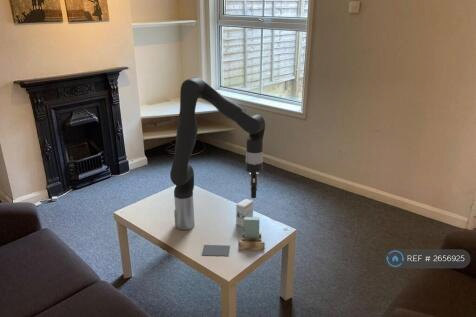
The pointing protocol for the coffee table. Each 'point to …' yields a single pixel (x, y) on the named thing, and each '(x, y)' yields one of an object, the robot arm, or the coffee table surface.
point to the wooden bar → (251, 245)
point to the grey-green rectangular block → (251, 227)
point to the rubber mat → (216, 250)
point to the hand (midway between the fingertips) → (253, 193)
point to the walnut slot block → (251, 239)
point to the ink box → (243, 211)
